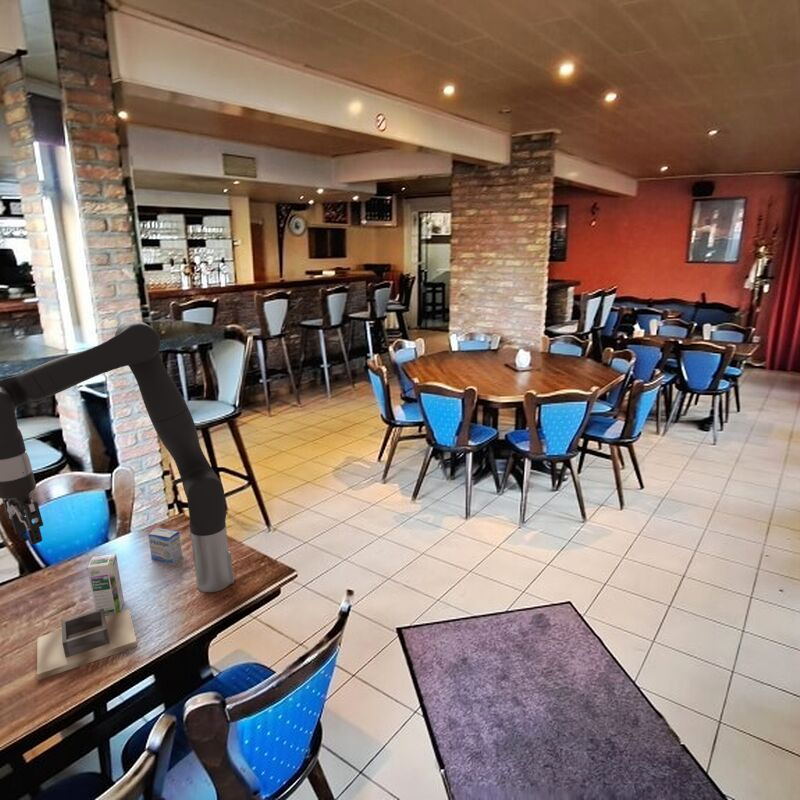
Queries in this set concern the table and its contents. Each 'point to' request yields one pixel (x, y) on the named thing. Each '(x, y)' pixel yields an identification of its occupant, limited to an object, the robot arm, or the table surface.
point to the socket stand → (84, 641)
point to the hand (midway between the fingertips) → (28, 537)
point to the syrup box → (106, 584)
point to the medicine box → (165, 545)
